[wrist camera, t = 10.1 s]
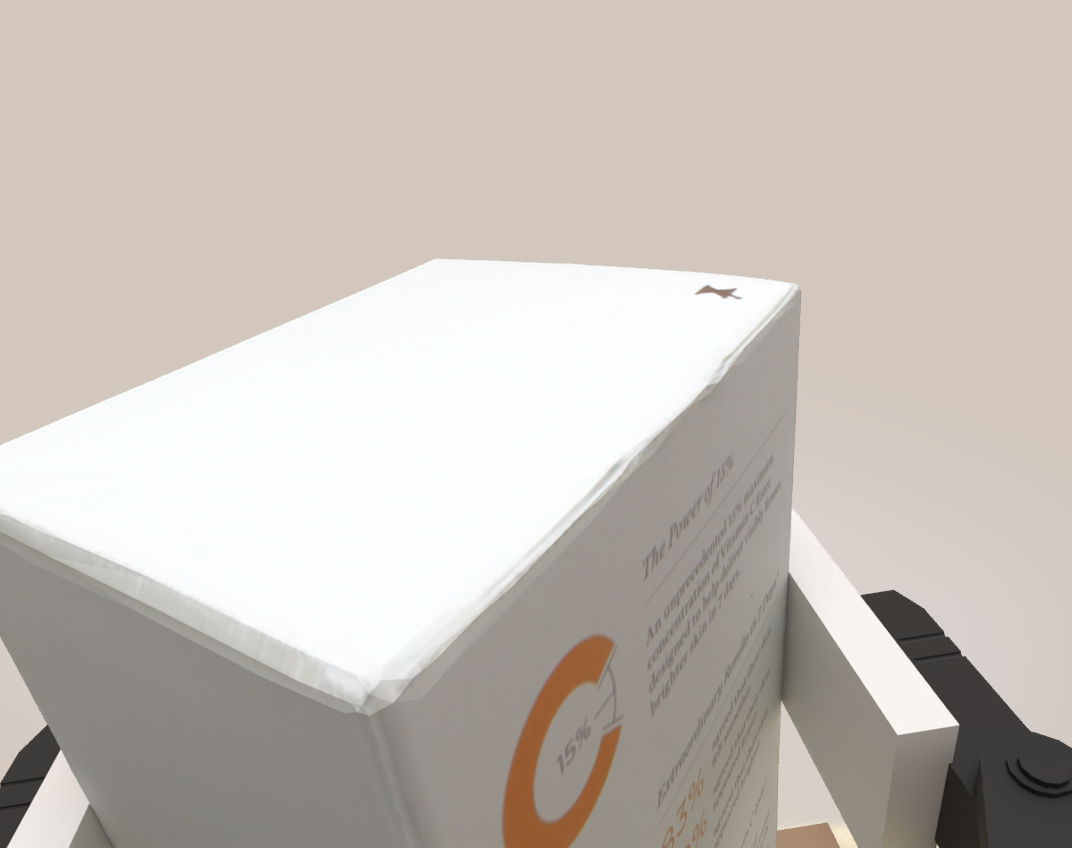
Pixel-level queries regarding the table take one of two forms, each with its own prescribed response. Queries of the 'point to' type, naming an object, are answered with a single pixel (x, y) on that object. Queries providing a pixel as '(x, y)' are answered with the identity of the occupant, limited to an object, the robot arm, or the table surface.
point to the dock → (807, 837)
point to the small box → (427, 570)
